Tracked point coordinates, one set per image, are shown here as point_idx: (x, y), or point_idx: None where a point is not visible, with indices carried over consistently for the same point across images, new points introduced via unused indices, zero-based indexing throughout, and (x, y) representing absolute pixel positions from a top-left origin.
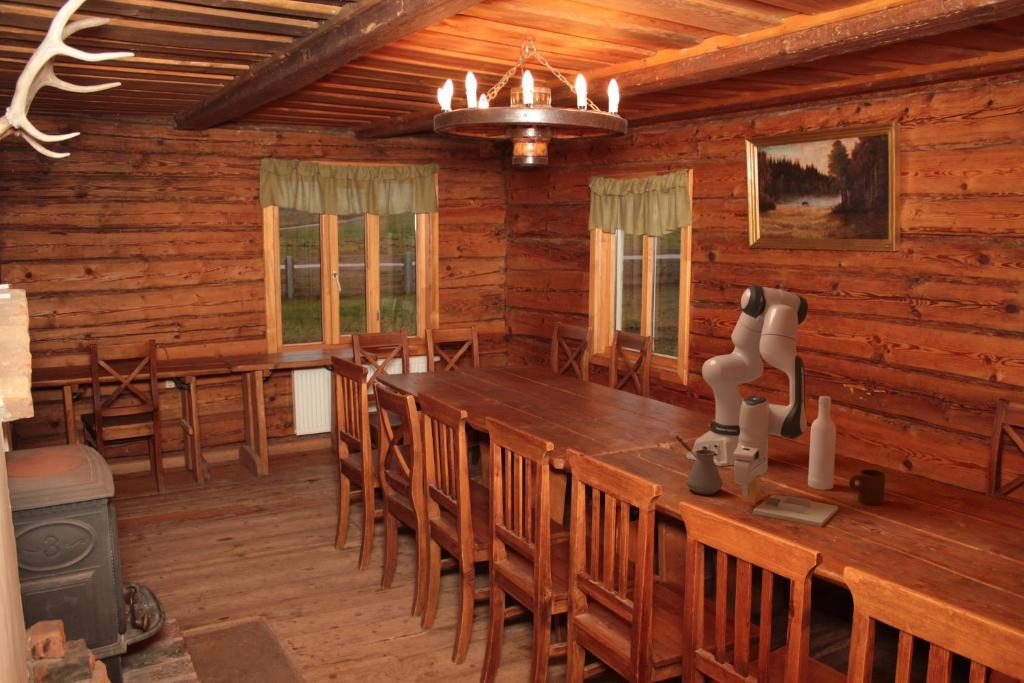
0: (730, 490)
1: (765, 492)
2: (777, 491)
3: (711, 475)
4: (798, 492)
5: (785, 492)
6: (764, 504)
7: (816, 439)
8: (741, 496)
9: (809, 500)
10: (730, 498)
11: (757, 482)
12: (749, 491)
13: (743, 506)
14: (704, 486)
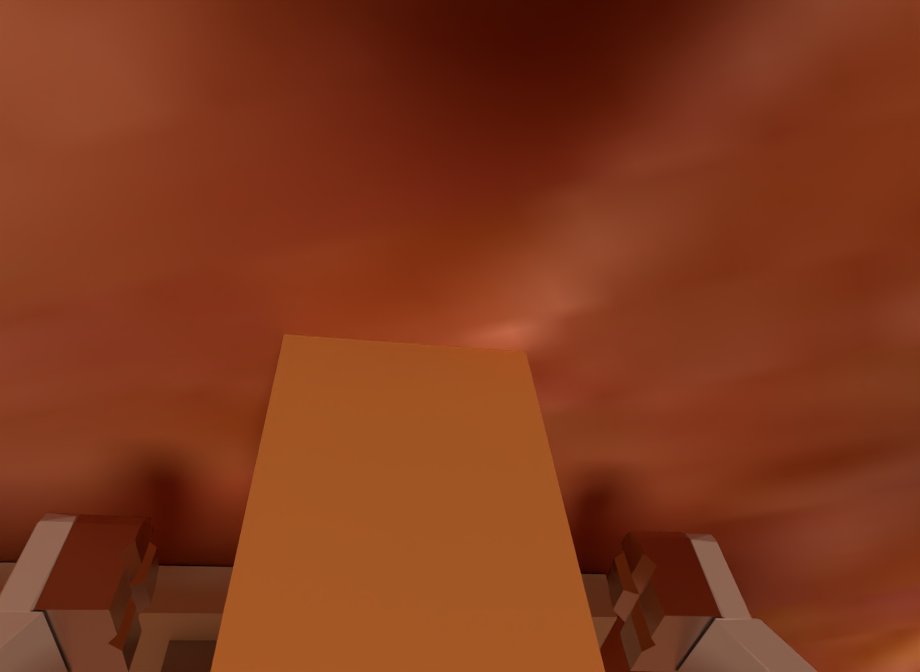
0: (891, 7)
1: (826, 486)
2: (882, 558)
3: None
4: (862, 663)
5: (851, 606)
6: (151, 638)
7: None
8: (272, 391)
9: None
10: (313, 145)
11: None
12: (137, 643)
13: (31, 418)
14: None
